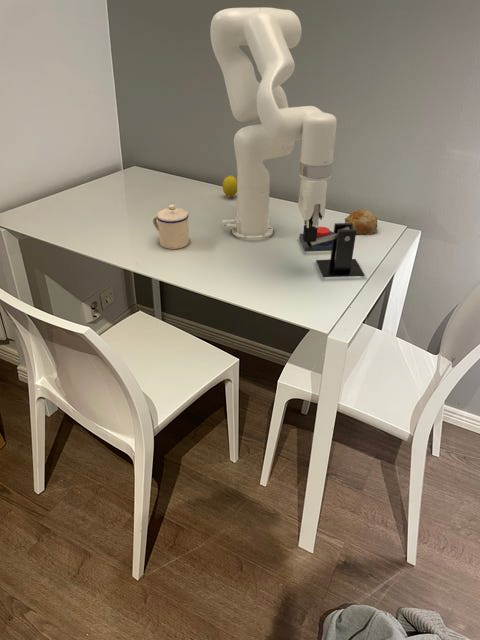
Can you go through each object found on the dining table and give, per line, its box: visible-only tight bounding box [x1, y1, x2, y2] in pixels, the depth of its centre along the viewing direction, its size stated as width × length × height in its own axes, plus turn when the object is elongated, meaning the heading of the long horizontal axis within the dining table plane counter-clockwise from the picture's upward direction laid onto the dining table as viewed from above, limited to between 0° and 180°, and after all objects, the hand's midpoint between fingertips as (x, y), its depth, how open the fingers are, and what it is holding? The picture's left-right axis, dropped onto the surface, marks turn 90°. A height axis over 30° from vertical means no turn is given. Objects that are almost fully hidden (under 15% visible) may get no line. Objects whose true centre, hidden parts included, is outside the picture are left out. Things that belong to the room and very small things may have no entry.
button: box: [317, 226, 331, 238], centre depth 143 cm, size 4×4×2 cm
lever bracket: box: [315, 222, 365, 278], centre depth 130 cm, size 11×9×13 cm
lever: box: [305, 227, 350, 250], centre depth 127 cm, size 12×6×2 cm, turn 94°
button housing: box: [299, 230, 334, 252], centre depth 144 cm, size 11×9×4 cm
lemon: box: [222, 174, 237, 198], centre depth 175 cm, size 6×6×8 cm
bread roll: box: [344, 209, 378, 236], centre depth 154 cm, size 10×10×8 cm
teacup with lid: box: [152, 204, 190, 250], centre depth 144 cm, size 12×9×12 cm
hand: (309, 240), depth 127 cm, fingers closed
